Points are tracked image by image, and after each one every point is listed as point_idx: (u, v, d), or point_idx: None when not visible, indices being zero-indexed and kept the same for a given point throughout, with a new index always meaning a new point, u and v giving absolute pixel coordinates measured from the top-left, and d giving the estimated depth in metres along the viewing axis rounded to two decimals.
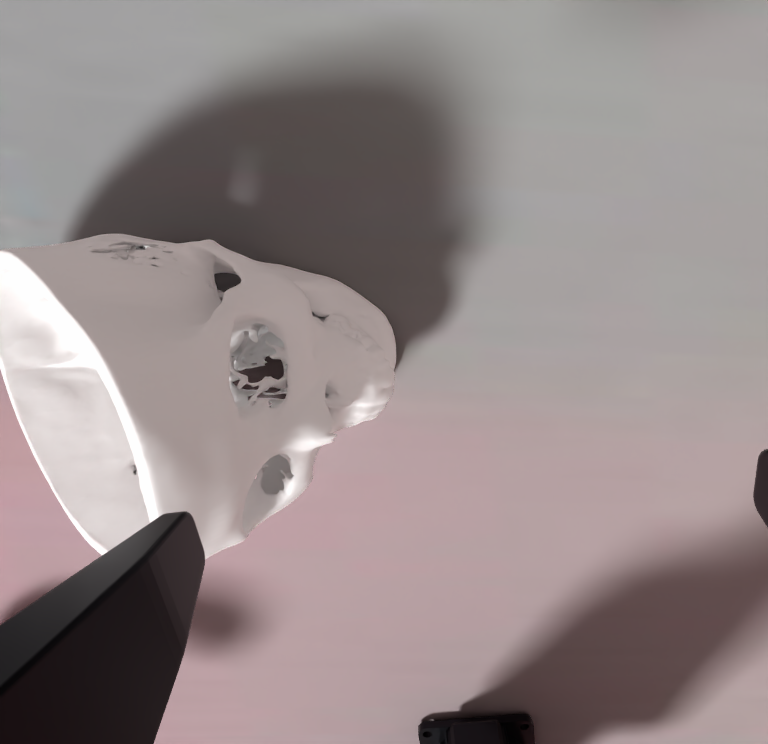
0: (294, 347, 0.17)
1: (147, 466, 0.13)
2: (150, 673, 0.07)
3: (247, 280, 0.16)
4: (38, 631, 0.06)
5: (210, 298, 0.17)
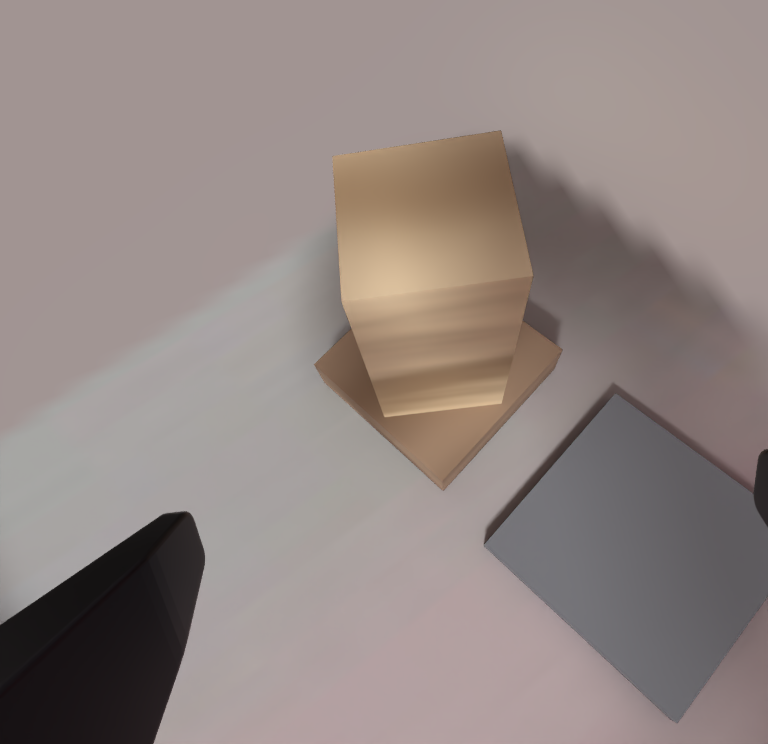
0: None
1: None
2: (150, 673, 0.07)
3: None
4: (38, 631, 0.06)
5: None
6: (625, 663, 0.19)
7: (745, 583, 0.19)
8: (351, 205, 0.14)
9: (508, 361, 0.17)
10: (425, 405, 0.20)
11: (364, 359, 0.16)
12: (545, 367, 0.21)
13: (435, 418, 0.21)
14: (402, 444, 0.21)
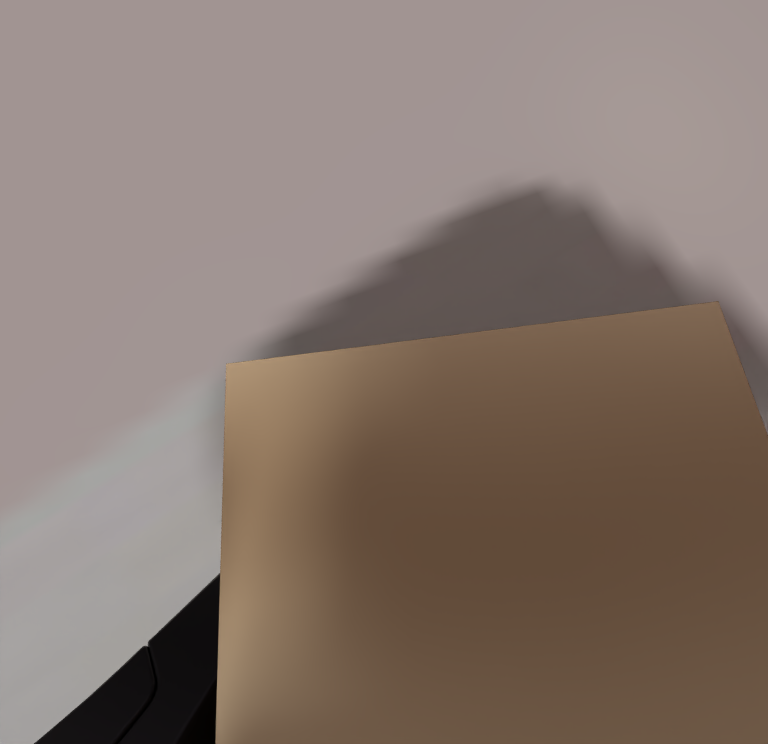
0: None
1: None
2: None
3: None
4: None
5: None
6: None
7: None
8: (270, 549, 0.05)
9: None
10: None
11: None
12: None
13: None
14: None
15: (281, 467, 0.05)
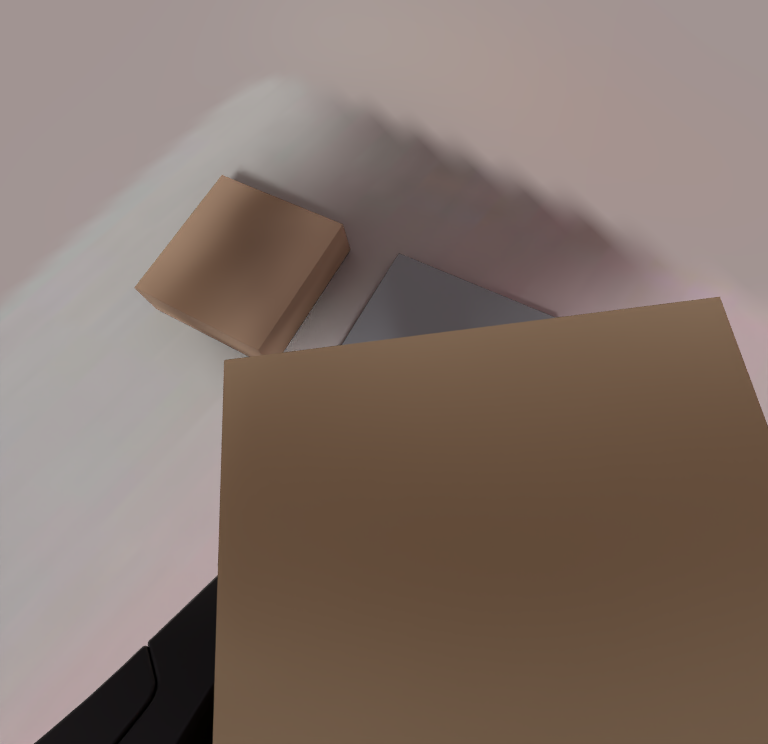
0: None
1: None
2: None
3: None
4: None
5: None
6: None
7: None
8: (269, 547, 0.04)
9: None
10: None
11: None
12: (330, 241, 0.25)
13: (245, 303, 0.24)
14: (220, 331, 0.24)
15: (279, 464, 0.05)
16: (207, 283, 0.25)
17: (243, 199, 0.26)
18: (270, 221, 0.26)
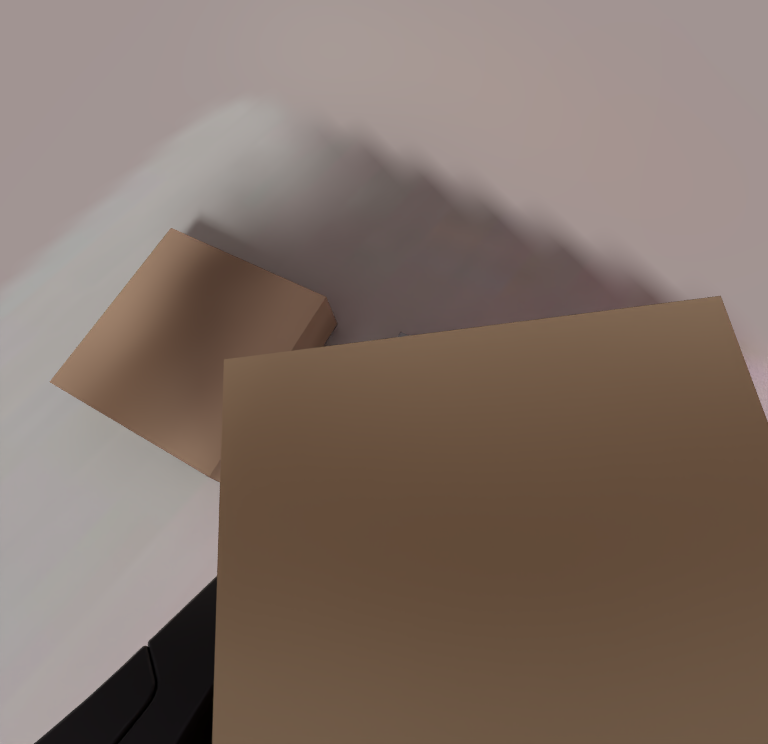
0: None
1: None
2: None
3: None
4: None
5: None
6: None
7: None
8: (267, 546, 0.04)
9: None
10: None
11: None
12: (310, 320, 0.19)
13: (194, 407, 0.18)
14: None
15: (279, 463, 0.05)
16: (144, 377, 0.19)
17: (197, 261, 0.20)
18: (231, 291, 0.19)
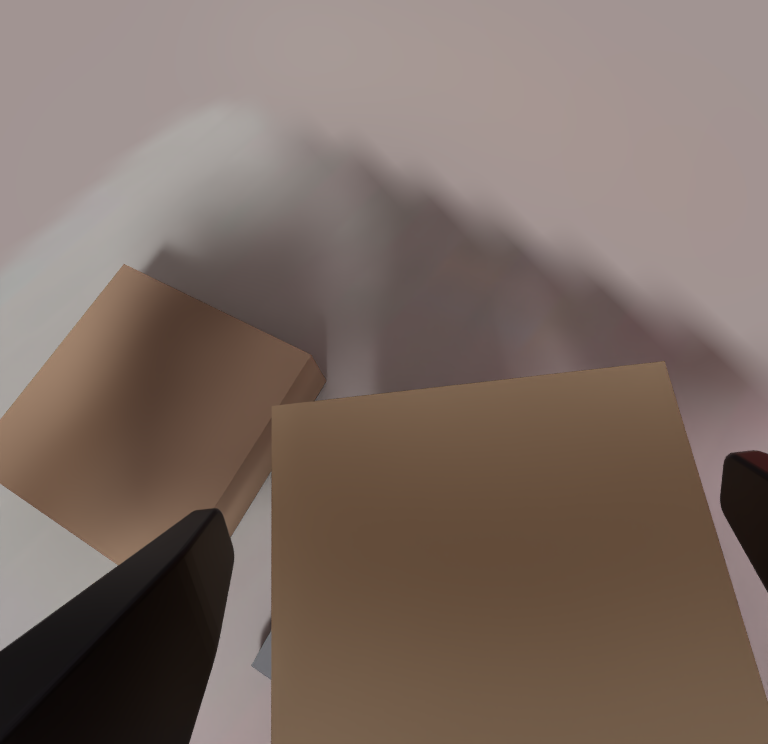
0: None
1: None
2: (186, 670, 0.07)
3: None
4: (81, 627, 0.06)
5: None
6: None
7: None
8: (310, 556, 0.06)
9: None
10: None
11: None
12: (290, 385, 0.15)
13: (144, 498, 0.14)
14: (99, 551, 0.14)
15: (318, 491, 0.06)
16: (84, 456, 0.15)
17: (154, 306, 0.16)
18: (195, 346, 0.16)
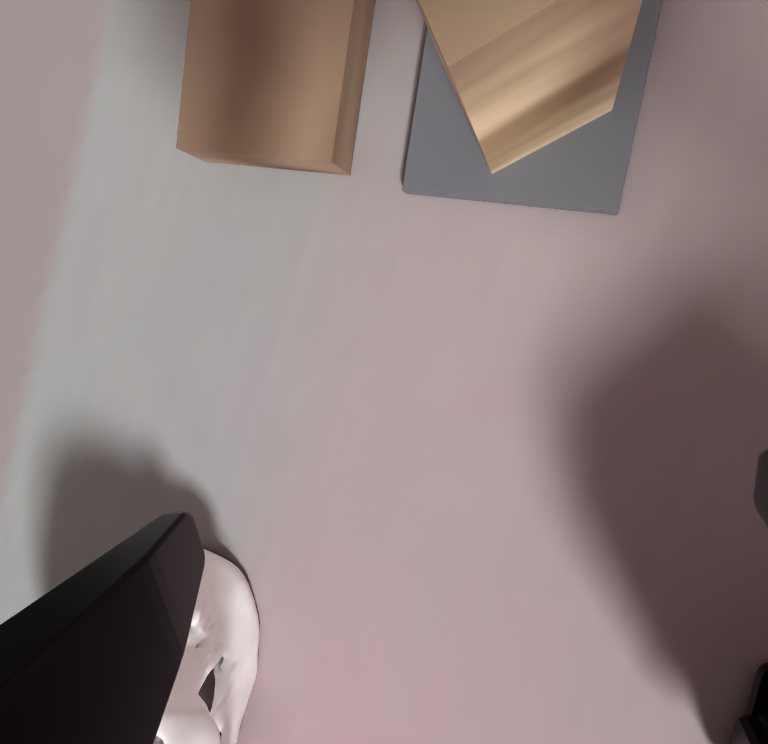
0: None
1: None
2: (150, 673, 0.07)
3: None
4: (38, 631, 0.06)
5: None
6: (558, 197, 0.20)
7: (627, 58, 0.19)
8: None
9: (622, 58, 0.15)
10: (532, 145, 0.19)
11: (472, 121, 0.15)
12: None
13: (294, 114, 0.21)
14: (284, 157, 0.21)
15: None
16: (244, 109, 0.22)
17: None
18: (276, 0, 0.21)
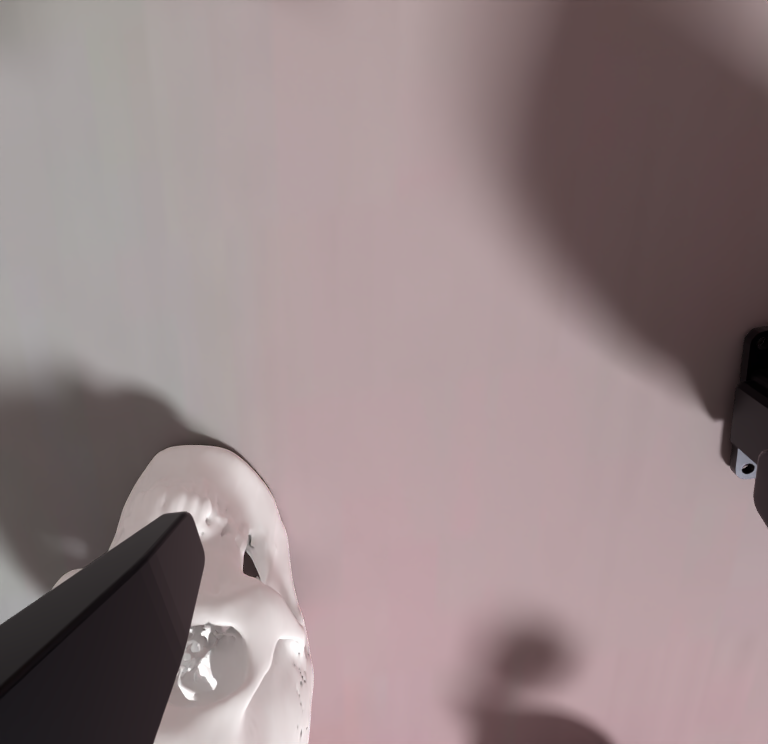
0: None
1: None
2: (150, 673, 0.07)
3: None
4: (38, 631, 0.06)
5: None
6: None
7: None
8: None
9: None
10: None
11: None
12: None
13: None
14: None
15: None
16: None
17: None
18: None
